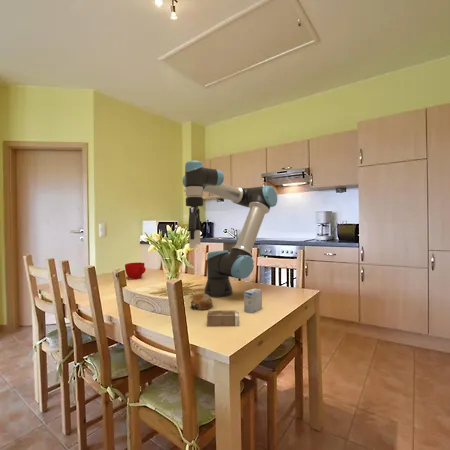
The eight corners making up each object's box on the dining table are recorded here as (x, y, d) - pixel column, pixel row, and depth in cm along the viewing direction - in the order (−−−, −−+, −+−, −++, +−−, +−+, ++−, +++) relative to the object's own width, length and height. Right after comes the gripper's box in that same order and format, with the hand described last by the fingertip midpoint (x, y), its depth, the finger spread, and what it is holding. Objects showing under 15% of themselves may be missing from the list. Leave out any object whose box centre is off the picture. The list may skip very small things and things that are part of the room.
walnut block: (208, 310, 108) (238, 310, 108) (208, 320, 108) (238, 320, 108) (207, 315, 102) (239, 315, 102) (207, 326, 102) (239, 326, 102)
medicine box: (254, 306, 124) (253, 287, 124) (262, 308, 121) (262, 289, 121) (243, 311, 118) (243, 291, 118) (252, 313, 115) (252, 293, 115)
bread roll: (211, 317, 121) (218, 301, 122) (190, 310, 118) (198, 293, 119) (206, 310, 130) (213, 295, 131) (187, 303, 128) (194, 287, 128)
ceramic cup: (137, 281, 178) (137, 266, 178) (121, 279, 188) (120, 264, 187) (152, 278, 189) (152, 263, 189) (136, 275, 198) (136, 262, 198)
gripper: (190, 199, 131) (191, 243, 131) (180, 194, 106) (181, 249, 107) (206, 199, 131) (206, 243, 131) (199, 194, 106) (200, 248, 106)
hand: (195, 245), depth 119 cm, fingers open, 13 cm apart
